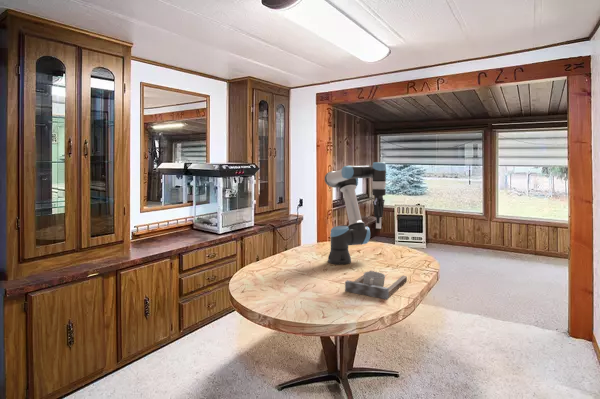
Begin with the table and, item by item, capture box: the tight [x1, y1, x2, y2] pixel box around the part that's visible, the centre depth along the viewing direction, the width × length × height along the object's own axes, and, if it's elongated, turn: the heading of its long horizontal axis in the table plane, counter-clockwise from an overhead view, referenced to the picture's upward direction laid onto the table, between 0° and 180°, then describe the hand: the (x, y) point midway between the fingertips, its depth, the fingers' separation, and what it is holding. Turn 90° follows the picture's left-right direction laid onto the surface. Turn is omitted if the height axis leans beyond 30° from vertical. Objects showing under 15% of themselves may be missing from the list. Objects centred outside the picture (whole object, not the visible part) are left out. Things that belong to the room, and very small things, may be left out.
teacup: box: [363, 270, 386, 287], centre depth 189 cm, size 14×11×8 cm
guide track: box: [344, 270, 408, 300], centre depth 195 cm, size 22×32×5 cm
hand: (378, 228), depth 218 cm, fingers closed
